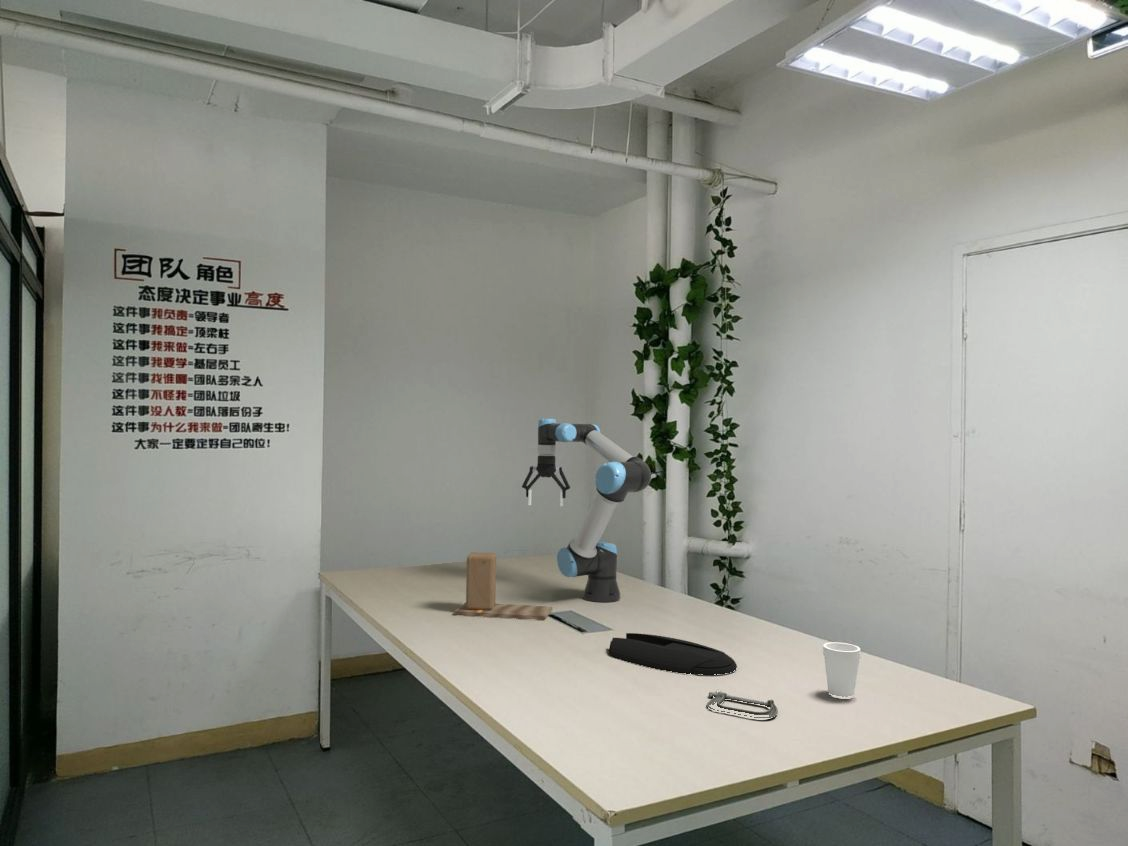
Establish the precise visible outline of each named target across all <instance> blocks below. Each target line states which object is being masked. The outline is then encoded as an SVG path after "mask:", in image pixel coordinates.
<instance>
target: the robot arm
mask: <svg viewBox="0 0 1128 846" xmlns="http://www.w3.org/2000/svg"><path fill="white" fill-rule="evenodd" d="M556 442H558V443H561V442H562V443H570V442H571V443H575V442H576V443H577V442H579V443H583V444H585V445H586V446H587V447H589V448H590V449H591V450H593V451H594V452H595V453H596V454H597V455H599V456H600V457H602V458H603V459H604V460H606V461H607V462H605V463H603V464H602V465H601V466H599V467H598V469H597V470H596V473H595V477H594V478H595V481H594V482H595V487H596V492H597V494H596V497H595V499H594V500H593V502H592V504H591V506H590V509H588V513H587V514H586V516H585V518H584V520H583V523H582V525H581V527H580V529H579V531H578V532H577V534H576V536H575V537H572V538H571V539H570V540H569V543H568V545H567V546H566V547H562V548H560V549H559V550H558V551H557V555H556V562H557V567H558V570H559V571H560V573H561V575H563V576H564V577H567V578H576V577H584V576H587V581H586V584H585V586H584V587H585V588H584V590H583V594H582V595H583V596H582V597H583V599H584V600H586V601H589V602H594V601H595V602H597V603H612V602H613V601H614V602H618V601H620V600H621V592H620V589H619V588H620V587H619V584H618V582H617V581H618V580H617V565H618V563H617V562H618V551H617V550H618V549H617V545H616V544H614V543H610V542H606V541H600V540H601V538H602V536H603V533H604V531H605V530H606V528H607V526H608V524H609V522H610V520H611V518H612V516H613V515H614V512H615V510H616V508H617V506H618V504H621V503H623V502H624V501H625V499H626V497H627V495H628V493H638V492H642V491H644V490H645V489H646V488H647V487H649V485H650V483H651V480H652V472H651V469H650V467H649V465H648V464H647V463H646V462H645V461H644V460H642V458H640V457H638V456H636V455H631V454H630V453H629V452H627V451H626V450H624V449H623V448H622V447H621V446H619V445H618V444H616V443H615V442H613V441H612V440H611V439H610V438H608V437H606V436H605V435H604V434H603V433H601V429H600V428H599V426H598V425H597V424H593V423H566V422H565V423H557V420H556V418H539V420H538V425H537V455H538V456H537V465H536V466H533V465H532V466H529V471H528V473H527V476H526V477H525V479H524V481H523V483H522V485H521V488H522V489H525V497H526V498H528V499H527V500H528V502H527V503H528V504H527V505H528V506H531V505H532V494H533V493H532V492H533V491H532V489H531V488H532V487H533V486H534V484H535V483H536V482H537V481H538V480H539V478H540V477H541V478H552V479H553V480H554V481H555V483H556V484H557V486H558V487H559V488H560V489H561V490H560V493H559V494H560V496H559V497H560V498H559V502H560V503H559V506H560V507H563V506H564V499H566V496H567V495H566V494H567V493H566V492H567V490H570V489H571V486H570V484H569V481H568V479H567V477H566V474H565V473H564V468H563V467H564V466H560V467H556V449H557V447H556V446H557V445H556ZM535 471H537V474H536V475H535V477H534V478H533V479H532V480H531V481H530V479H531V478H532V475H533V473H534V472H535ZM556 471H557V473H559V475H560V478H561V479H562V482H563V483H562V482H561V481H560V478H558V476H557V475H556V474H555V472H556ZM529 481H530V482H529ZM528 483H529V484H528ZM619 599H620V600H619ZM617 600H618V601H617Z"/></svg>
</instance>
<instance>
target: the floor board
mask: <svg viewBox="0 0 1128 846" xmlns="http://www.w3.org/2000/svg"><path fill="white" fill-rule="evenodd" d="M553 610H554V609H553V606H549V605H548V606H546V605H532V604H531V605H528V604H527V605H526V604H511V603H509V604H508V603H495V605H494V606H493V608H492V609H491V610H470V609H467V608H466V602H465V603H463V604H461V605H460V606H458V608H457V609H455V610H454V611H453V615H454V616H457V615H464V616H463V617H475V616H484V617H483V618H492V617H500V618H499V619H509V618H516V619H515V620H527V619H537V620H536V621H544V620H545V619H546V620H547V618H548V617H549V616H550V615H551V613H552V612H553ZM551 611H552V612H551ZM550 612H551V613H550ZM549 614H550V615H549ZM466 615H467V616H466ZM548 615H549V616H548ZM517 618H518V619H517ZM546 620H545V621H546Z"/></svg>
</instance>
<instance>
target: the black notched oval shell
mask: <svg viewBox="0 0 1128 846" xmlns="http://www.w3.org/2000/svg"><path fill="white" fill-rule="evenodd" d="M608 649H609V650H608V655H609V656H610V657H611V656H612V657H611V658H613V657H615V658H614V659H616V658H617V659H616V660H619V659H621V661H623V660H624V661H623V662H626V661H627V663H629V662H631V663H630V664H633V663H635V664H634V665H637V664H639V665H638V666H641V665H643V666H642V667H644V666H646V667H645V668H649V667H650V669H653V668H655V670H658V669H660V670H659V671H662V670H666V671H665V672H668V671H672V672H671V673H673V672H678V673H686V674H690V673H691V674H703V675H714V674H716V675H717V674H725V673H730V672H733V671H734V670H736V668H737V669H738V665H737V663H736V661H735V660H734V659H733V658H732V657H731V656H730V655H728V654H727V653H726V652H724V651H722V650H719V649H716V648H714V647H710V646H707V645H703V644H701V643H696V642H692V641H688V640H684V639H679V638H675V637H669V636H663V635H656V634H649V633H636V632H635V633H634V632H630V633H629V632H626V633H625V638H624V637H612V639H611V640H610V643H609V648H608ZM736 671H737V670H736ZM678 673H677V674H678ZM733 673H734V672H733ZM730 674H731V673H730ZM703 675H702V676H703Z"/></svg>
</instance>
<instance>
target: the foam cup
mask: <svg viewBox="0 0 1128 846" xmlns="http://www.w3.org/2000/svg"><path fill="white" fill-rule="evenodd" d="M822 649H823V650H822V654H823V657H824V665H825V675H826V684H827V693H828V692H829V693H830V694H832V695H836V696H842V697H844V696H845V697H848V696H852V695H854V696H855V689H856V684H857V678H858V670H859V666H860V665H859V664H860V660H861V648H860V647H859V646H858V645H856V644H855V645H854V644H851V643H847V642H834V641H833V642H826V643H824V644H823V645H822ZM829 693H828V694H829Z"/></svg>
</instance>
